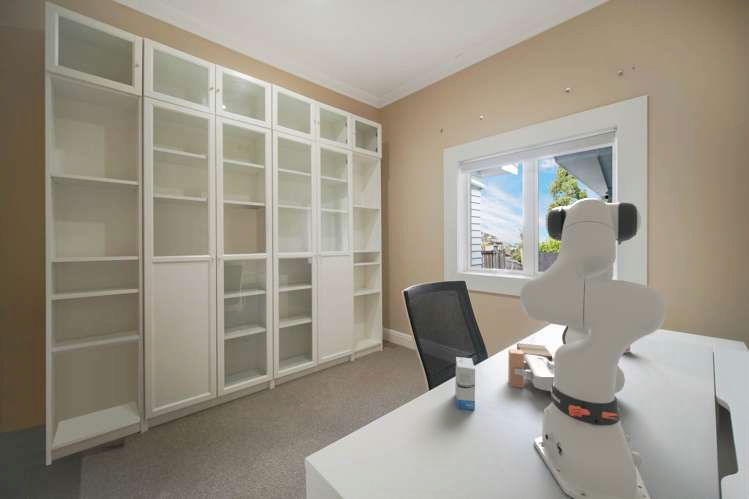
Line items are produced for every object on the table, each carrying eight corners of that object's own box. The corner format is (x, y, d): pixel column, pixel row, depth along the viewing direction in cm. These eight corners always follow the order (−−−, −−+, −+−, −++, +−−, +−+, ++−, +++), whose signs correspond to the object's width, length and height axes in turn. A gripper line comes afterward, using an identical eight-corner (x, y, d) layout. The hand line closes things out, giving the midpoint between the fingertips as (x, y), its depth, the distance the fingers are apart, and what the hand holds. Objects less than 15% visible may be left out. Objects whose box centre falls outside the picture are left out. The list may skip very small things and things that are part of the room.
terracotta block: (523, 388, 98) (523, 354, 97) (509, 386, 99) (510, 352, 99) (521, 382, 101) (521, 350, 101) (508, 380, 103) (508, 348, 102)
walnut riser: (552, 372, 109) (552, 356, 109) (521, 369, 112) (522, 353, 112) (544, 360, 121) (544, 345, 121) (516, 357, 124) (517, 343, 124)
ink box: (475, 410, 84) (475, 368, 84) (456, 408, 85) (457, 367, 85) (471, 395, 92) (472, 357, 92) (455, 394, 93) (455, 356, 93)
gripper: (551, 352, 106) (509, 347, 110) (570, 376, 86) (517, 370, 91) (551, 370, 106) (508, 365, 110) (570, 398, 87) (517, 390, 91)
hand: (512, 367), depth 100 cm, fingers closed on terracotta block, 4 cm apart
